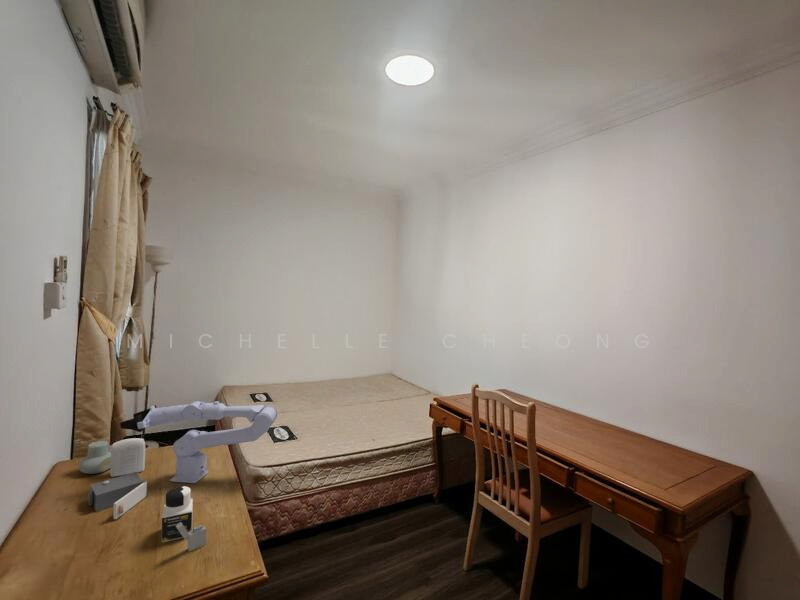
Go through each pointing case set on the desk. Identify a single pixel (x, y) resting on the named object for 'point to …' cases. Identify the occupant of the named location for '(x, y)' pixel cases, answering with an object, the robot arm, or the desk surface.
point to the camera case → (112, 490)
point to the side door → (130, 500)
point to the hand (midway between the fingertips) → (127, 421)
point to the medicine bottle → (177, 513)
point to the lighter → (193, 536)
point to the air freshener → (96, 458)
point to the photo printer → (127, 457)
